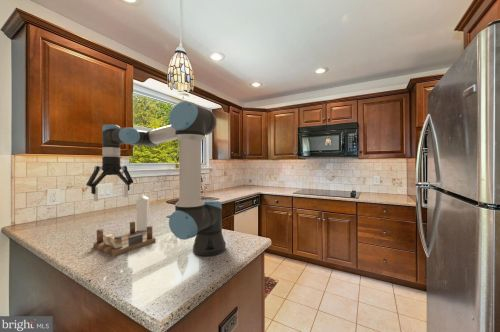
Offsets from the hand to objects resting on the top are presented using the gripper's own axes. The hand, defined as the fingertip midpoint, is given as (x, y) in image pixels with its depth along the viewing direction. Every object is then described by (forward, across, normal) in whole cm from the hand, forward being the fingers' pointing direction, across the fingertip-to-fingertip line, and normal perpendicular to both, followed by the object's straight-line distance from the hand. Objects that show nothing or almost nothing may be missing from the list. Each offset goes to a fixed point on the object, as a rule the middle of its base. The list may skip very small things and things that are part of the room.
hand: (111, 198), depth 105 cm
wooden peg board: (+23, -4, +5) cm, 24 cm away
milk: (+23, -23, -12) cm, 35 cm away
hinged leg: (+21, +3, +7) cm, 22 cm away
